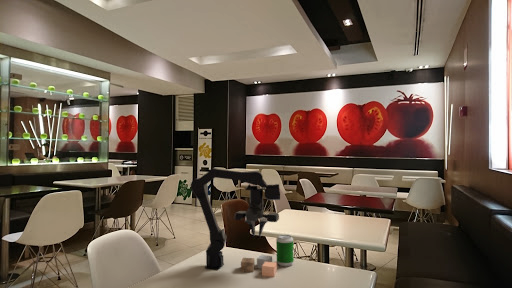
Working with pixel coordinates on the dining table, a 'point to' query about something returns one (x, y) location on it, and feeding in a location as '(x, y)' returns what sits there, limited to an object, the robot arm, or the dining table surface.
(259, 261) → the slate block
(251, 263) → the walnut block
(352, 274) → the dining table surface
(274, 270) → the terracotta block
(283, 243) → the soda can
